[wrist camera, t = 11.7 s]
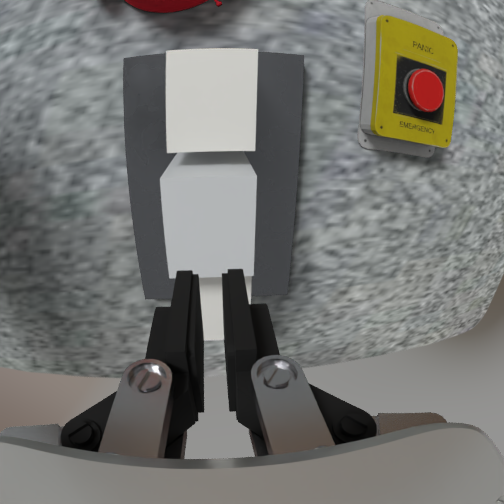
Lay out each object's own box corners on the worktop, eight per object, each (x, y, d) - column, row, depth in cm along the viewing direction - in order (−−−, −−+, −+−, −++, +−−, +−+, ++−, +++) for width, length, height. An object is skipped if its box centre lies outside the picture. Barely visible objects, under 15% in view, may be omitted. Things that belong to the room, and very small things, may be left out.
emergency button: (375, 155, 23) (384, -14, 16) (353, 146, 26) (362, -2, 20) (456, 168, 24) (466, 22, 17) (430, 157, 28) (439, 26, 21)
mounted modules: (178, 62, 19) (166, 50, 14) (247, 61, 20) (258, 49, 14) (188, 296, 28) (185, 340, 23) (242, 294, 29) (249, 338, 24)
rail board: (128, 60, 20) (119, 56, 18) (299, 57, 22) (307, 53, 20) (147, 290, 31) (143, 305, 28) (284, 286, 32) (289, 300, 30)
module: (177, 152, 22) (159, 178, 15) (245, 151, 23) (259, 175, 16) (181, 225, 25) (169, 278, 18) (244, 223, 26) (256, 275, 19)
